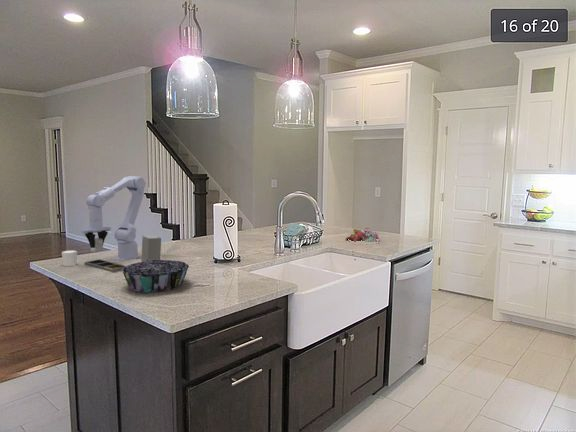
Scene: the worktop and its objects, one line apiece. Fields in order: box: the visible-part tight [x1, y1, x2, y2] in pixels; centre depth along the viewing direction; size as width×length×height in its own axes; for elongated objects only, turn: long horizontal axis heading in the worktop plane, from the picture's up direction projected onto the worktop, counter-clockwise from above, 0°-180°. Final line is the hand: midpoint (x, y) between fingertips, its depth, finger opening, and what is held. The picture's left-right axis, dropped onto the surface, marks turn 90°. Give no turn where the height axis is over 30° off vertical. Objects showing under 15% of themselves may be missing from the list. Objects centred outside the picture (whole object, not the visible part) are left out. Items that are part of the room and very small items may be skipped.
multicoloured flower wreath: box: [345, 227, 380, 242], centre depth 294 cm, size 25×24×9 cm
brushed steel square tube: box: [90, 237, 104, 253], centre depth 208 cm, size 4×4×6 cm
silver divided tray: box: [84, 258, 126, 274], centre depth 205 cm, size 8×24×2 cm, turn 56°
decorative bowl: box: [121, 259, 190, 294], centre depth 177 cm, size 26×28×10 cm
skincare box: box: [140, 234, 162, 262], centre depth 205 cm, size 8×7×16 cm
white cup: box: [61, 249, 78, 267], centre depth 206 cm, size 7×7×7 cm
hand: (96, 246), depth 208 cm, fingers closed on brushed steel square tube, 4 cm apart
